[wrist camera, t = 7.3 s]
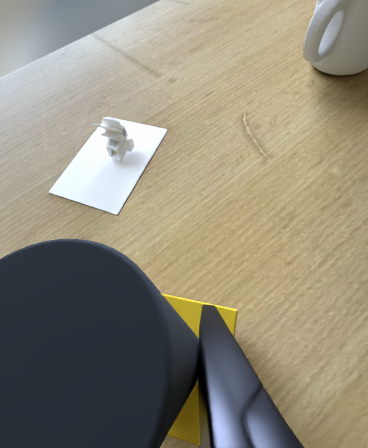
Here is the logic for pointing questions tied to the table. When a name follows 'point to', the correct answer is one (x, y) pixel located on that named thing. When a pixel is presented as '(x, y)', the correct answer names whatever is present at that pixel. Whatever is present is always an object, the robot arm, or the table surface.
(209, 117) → the table surface
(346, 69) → the cup
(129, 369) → the sponge wand
